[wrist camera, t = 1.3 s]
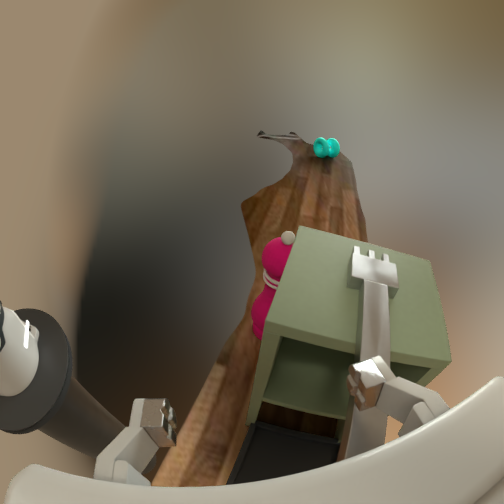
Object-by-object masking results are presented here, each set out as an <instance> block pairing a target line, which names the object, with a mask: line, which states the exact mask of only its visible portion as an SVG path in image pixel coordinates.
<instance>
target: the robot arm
mask: <svg viewBox="0 0 504 504" xmlns="http://www.w3.org/2000/svg"><path fill="white" fill-rule="evenodd" d="M38 338H39V331H38V330H37V328H36V327H34V326H32V325H30V324H29V322H28V320H27V321H26V322H24V321H22V320H20V319H19V317H18V316H17V314H16V313H15V312H14V311H13V310H10V309H8V308H5V307H2V303H1V301H0V396H14V395H17V394H19V393H21V392H22V391H23V390H25V389H26V388H27V387H28V385H29V384H30V383H31V381H32V380H33V378H34V376H35V373H36V371H37V367H38V361H39V353H38V347H37V342H38ZM348 371H349V373H350V374H349V375H348V376H347V380H346V383H347V388H348V391H349V393H350V395H352V396H354V397H355V400H354V403H355V404H356V406H357V408H358V410H359V412H360V411H363V410H366V409H369V408H372V407H374V406H376V408H378V409H380V410H381V411H383V412H384V413H386V414H388V415H389V416H391V417H393V418H394V419H396V420H398V421H400V422H401V423H403V426H402V428H401V429H400V431H399V433H398V435H399V438H397V439H395V440H393V441H391V442H388V443H386V444H384V445H382V446H379V447H377V448H374V449H372V450H369V451H367V452H364V453H362V454H359V455H357V456H354V457H351V458H348V459H345V460H342V461H339V462H336V463H333V464H330V465H327V466H323V467H320V468H316V469H313V470H309V471H305V472H301V473H297V474H293V475H288V476H283V477H278V478H273V479H268V480H262V481H256V482H249V483H241V484H232V485H221V486H206V487H156V486H150V482H149V481H148V480H147V479H146V478H145V477H144V476H142V475H141V473H142V472H143V470H144V469H145V467H146V466H147V465H148V463H149V462H150V460H151V459H152V457H153V456H154V454H155V453H156V451H157V450H158V448H159V447H172V446H176V437H177V435H176V433H175V431H174V429H175V428H176V427H177V419H176V414H175V411H174V409H173V408H172V407H170V402H169V400H168V398H161V399H160V398H159V399H158V398H157V399H135V400H134V402H133V407H132V412H131V418H130V423H129V427H126V428H125V429H124V430H123V431H122V432H121V433H120V434H119V435H118V436H117V437H116V438H115V439H114V440H113V441H112V442H111V443H110V444H109V445H108V446H107V447H106V448H105V449H104V450H103V451H102V452H101V453H100V454H99V455H98V456H97V460H96V465H95V471H94V476H93V479H91V478H86V477H82V476H77V475H73V474H69V473H65V472H61V471H58V470H54V469H51V468H47V467H44V466H41V465H38V464H31V465H29V466H27V467H26V468H24V469H23V470H21V471H20V472H19V473H18V474H16V475H15V476H14V477H13V478H12V480H11V482H10V484H9V487H8V490H7V493H6V496H5V500H4V504H504V377H500V376H497V377H495V378H493V379H492V380H491V381H490V382H488V383H487V384H485V385H484V386H483V387H482V388H480V389H479V390H478V391H476V392H475V393H473V394H472V395H471V396H469V397H468V398H466V399H465V400H463V401H462V402H461V403H459V404H458V405H456V406H454V407H453V408H451V409H450V408H449V407H448V406H447V404H446V403H445V401H444V400H443V399H442V398H441V396H440V395H439V394H438V392H435V391H433V390H430V389H428V388H425V387H423V386H420V385H418V384H416V383H413V382H411V381H408V380H406V379H403V378H401V377H397V378H396V376H395V375H394V374H393V372H392V371H391V370H390V368H389V367H388V365H387V364H386V363H385V361H384V360H383V359H382V357H381V356H376V357H373V358H370V359H366V360H363V361H360V362H357V363H354V364H351V365H350V366H349V369H348Z"/></svg>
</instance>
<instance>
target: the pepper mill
mask: <svg viewBox="0 0 504 504" xmlns="http://www.w3.org/2000/svg"><path fill="white" fill-rule="evenodd" d="M294 240H295V235H294V234H293V233H292V232H290V231H286V232H284V233H283V234H282V236H281V237H278V238H275V239H273V240H271V241H270V242H269V243H268V244H267V245H266V246H265V248H264V250H263V254H262V263H263V266H264V274H263V279H264V281H265V283H266V284H265V288H264V290H263V292H262V293H261V294H260V295H259V296H258V297H257V298H256V300H255V302H254V303H253V306H252V311H251V316H252V320H253V332H254V334H255V336H256V337H257V338H259V339H260V340H262V335H263V330H264V324H265V319H266V317H267V314H268V311H269V309H270V306H271V304H272V301H273V298H274V295H275V293H276V290H277V287H278V285H279V282H280V279H281V276H282V274H283V271H284V268H285V265H286V263H287V260H288V257H289V254H290V251H291V248H292V246H293V243H294Z"/></svg>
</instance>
